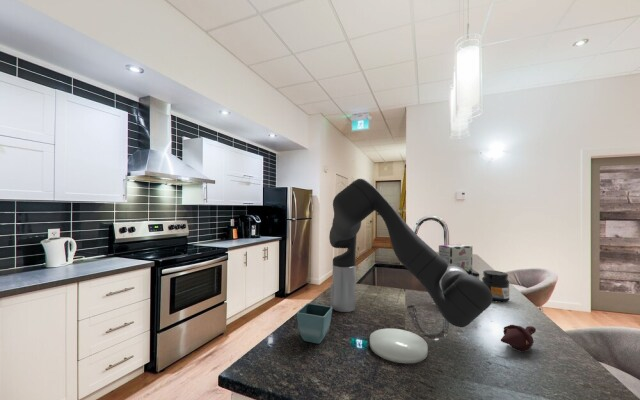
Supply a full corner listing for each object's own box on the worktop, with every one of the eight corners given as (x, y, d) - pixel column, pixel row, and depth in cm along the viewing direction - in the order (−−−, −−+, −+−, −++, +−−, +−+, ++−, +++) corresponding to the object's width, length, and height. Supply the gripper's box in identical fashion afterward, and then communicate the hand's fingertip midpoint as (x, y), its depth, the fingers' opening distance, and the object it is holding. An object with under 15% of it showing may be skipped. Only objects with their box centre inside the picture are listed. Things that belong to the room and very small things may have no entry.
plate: (364, 355, 71) (364, 348, 71) (374, 330, 86) (374, 325, 86) (428, 369, 65) (428, 361, 65) (427, 340, 80) (427, 334, 80)
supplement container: (512, 304, 113) (512, 276, 113) (483, 300, 117) (483, 273, 118) (507, 297, 122) (506, 271, 123) (480, 293, 127) (480, 269, 127)
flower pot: (332, 335, 82) (332, 306, 83) (323, 349, 74) (324, 316, 75) (306, 330, 85) (307, 302, 86) (295, 343, 77) (296, 312, 77)
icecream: (519, 338, 69) (550, 333, 75) (492, 320, 75) (522, 317, 82) (511, 361, 70) (542, 354, 76) (485, 341, 77) (515, 337, 83)
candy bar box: (458, 291, 90) (459, 243, 91) (472, 296, 86) (473, 246, 86) (436, 295, 85) (438, 244, 86) (450, 300, 80) (452, 246, 81)
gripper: (486, 269, 66) (474, 258, 81) (425, 263, 71) (424, 254, 87) (486, 299, 66) (474, 282, 81) (424, 291, 71) (424, 277, 86)
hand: (448, 268), depth 84 cm, fingers closed on candy bar box, 6 cm apart
